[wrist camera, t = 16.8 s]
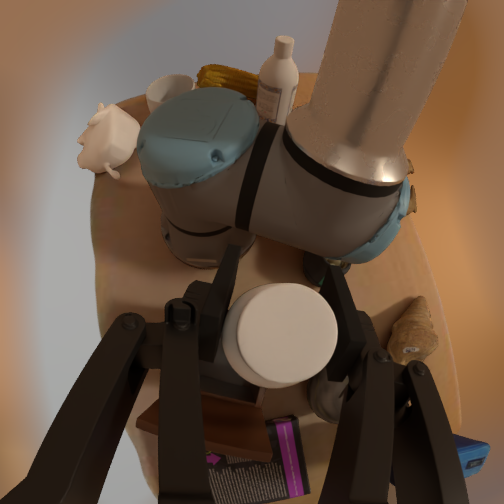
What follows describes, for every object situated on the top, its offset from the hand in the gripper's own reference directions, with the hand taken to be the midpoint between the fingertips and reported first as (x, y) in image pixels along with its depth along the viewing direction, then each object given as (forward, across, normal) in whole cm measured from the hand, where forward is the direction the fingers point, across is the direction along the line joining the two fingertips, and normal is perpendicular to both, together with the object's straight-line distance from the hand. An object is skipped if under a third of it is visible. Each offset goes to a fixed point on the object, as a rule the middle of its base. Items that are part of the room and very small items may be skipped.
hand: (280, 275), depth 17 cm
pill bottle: (0, 0, -5) cm, 5 cm away
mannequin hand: (+30, -37, -1) cm, 48 cm away
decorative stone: (+11, +14, -23) cm, 29 cm away
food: (+50, -4, +20) cm, 54 cm away
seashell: (+18, +25, -17) cm, 35 cm away
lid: (-3, -3, -13) cm, 13 cm away
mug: (+41, -20, +6) cm, 46 cm away
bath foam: (+44, -4, +10) cm, 45 cm away
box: (+1, +2, -34) cm, 34 cm away
